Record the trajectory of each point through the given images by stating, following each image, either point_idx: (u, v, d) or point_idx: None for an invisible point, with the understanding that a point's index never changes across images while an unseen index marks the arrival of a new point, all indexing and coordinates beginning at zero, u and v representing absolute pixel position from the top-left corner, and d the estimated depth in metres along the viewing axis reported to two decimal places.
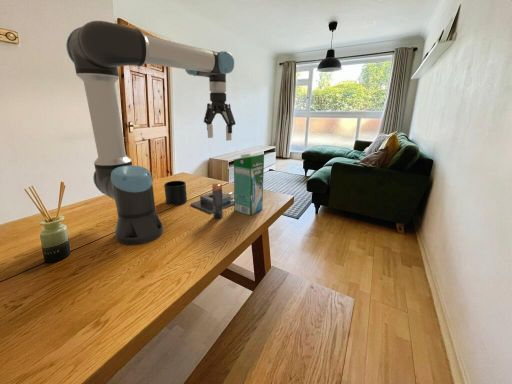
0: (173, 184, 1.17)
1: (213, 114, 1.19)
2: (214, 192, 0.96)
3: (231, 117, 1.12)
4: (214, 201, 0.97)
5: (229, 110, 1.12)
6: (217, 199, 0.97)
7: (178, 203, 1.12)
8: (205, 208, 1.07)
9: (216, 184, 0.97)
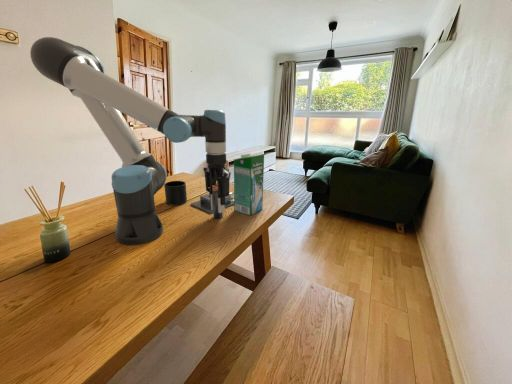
0: (173, 184, 1.17)
1: (213, 179, 0.96)
2: (214, 192, 0.96)
3: (226, 189, 0.93)
4: (214, 201, 0.97)
5: (227, 180, 0.92)
6: (217, 199, 0.97)
7: (178, 203, 1.12)
8: (205, 208, 1.07)
9: (216, 184, 0.97)
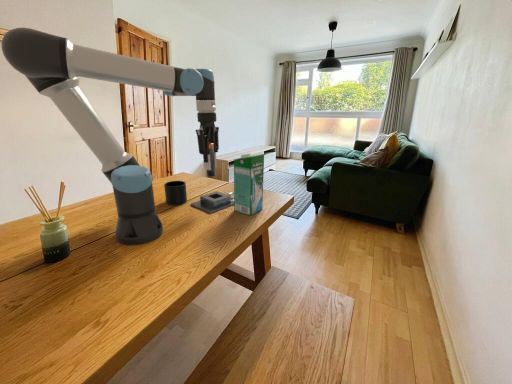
0: (173, 184, 1.17)
1: (209, 137, 1.04)
2: None
3: (200, 146, 0.99)
4: None
5: (200, 137, 0.97)
6: None
7: (178, 203, 1.12)
8: (205, 208, 1.07)
9: (209, 143, 1.04)
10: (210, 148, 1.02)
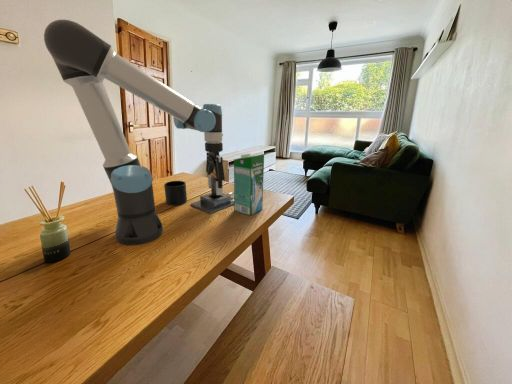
0: (173, 184, 1.17)
1: (211, 164, 1.11)
2: (211, 179, 1.10)
3: (220, 172, 1.03)
4: (211, 187, 1.11)
5: (220, 164, 1.03)
6: (213, 186, 1.10)
7: (178, 203, 1.12)
8: (205, 208, 1.07)
9: (214, 172, 1.11)
10: None
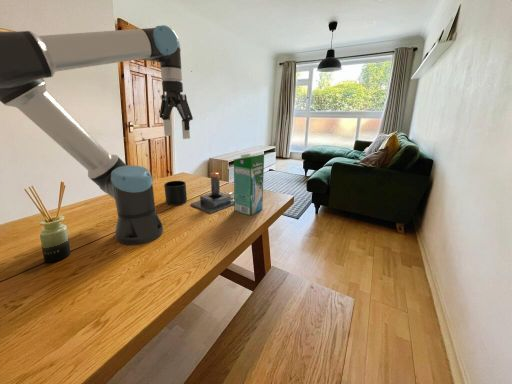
0: (173, 184, 1.17)
1: (169, 107, 1.00)
2: (211, 179, 1.10)
3: (187, 110, 0.93)
4: (211, 187, 1.11)
5: (185, 102, 0.93)
6: (213, 186, 1.10)
7: (178, 203, 1.12)
8: (205, 208, 1.07)
9: (214, 172, 1.10)
10: None
